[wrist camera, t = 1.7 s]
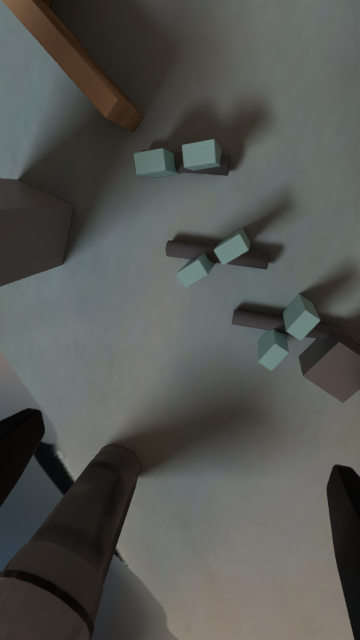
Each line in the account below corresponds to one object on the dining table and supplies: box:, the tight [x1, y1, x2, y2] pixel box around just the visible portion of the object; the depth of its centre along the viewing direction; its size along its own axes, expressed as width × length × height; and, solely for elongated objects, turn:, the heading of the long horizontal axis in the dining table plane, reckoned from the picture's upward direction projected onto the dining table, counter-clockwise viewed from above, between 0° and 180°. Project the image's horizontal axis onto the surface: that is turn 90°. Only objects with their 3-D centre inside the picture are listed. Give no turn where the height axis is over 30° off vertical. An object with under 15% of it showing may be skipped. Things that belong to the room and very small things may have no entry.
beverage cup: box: [0, 445, 141, 640], centre depth 20 cm, size 7×7×20 cm
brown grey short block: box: [299, 331, 360, 403], centre depth 19 cm, size 3×3×2 cm
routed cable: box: [142, 150, 342, 340], centre depth 18 cm, size 13×10×1 cm
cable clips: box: [134, 139, 320, 371], centre depth 18 cm, size 6×14×3 cm, turn 35°
